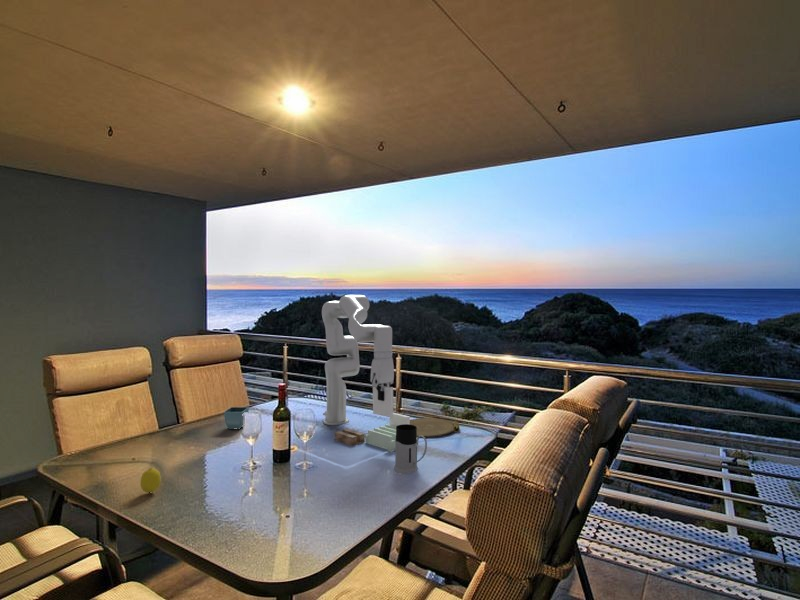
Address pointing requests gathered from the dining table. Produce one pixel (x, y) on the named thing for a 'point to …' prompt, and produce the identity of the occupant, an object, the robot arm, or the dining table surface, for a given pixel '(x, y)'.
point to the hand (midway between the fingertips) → (382, 399)
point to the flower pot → (234, 417)
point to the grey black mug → (407, 449)
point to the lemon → (150, 480)
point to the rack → (386, 433)
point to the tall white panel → (383, 402)
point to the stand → (349, 437)
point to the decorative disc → (434, 427)
